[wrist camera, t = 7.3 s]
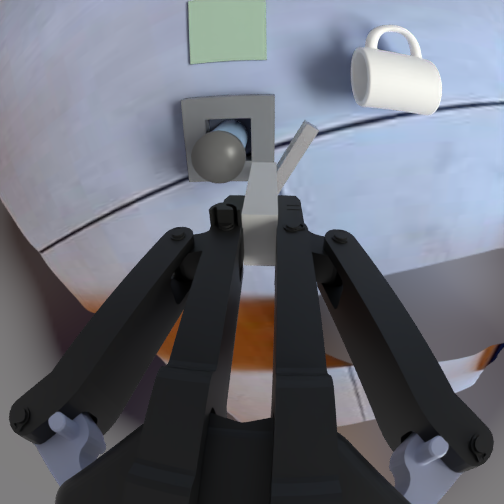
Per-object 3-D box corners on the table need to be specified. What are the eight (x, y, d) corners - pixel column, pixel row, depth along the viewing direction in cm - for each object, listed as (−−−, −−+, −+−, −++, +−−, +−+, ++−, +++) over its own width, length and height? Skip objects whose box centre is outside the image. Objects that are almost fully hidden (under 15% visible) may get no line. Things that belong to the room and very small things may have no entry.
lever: (265, 219, 30) (264, 229, 29) (242, 208, 29) (240, 217, 28) (322, 130, 24) (326, 135, 22) (297, 115, 23) (299, 119, 21)
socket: (186, 98, 33) (152, 111, 23) (274, 94, 32) (275, 104, 23) (193, 175, 40) (168, 214, 31) (273, 175, 39) (273, 215, 30)
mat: (189, 1, 24) (188, 1, 23) (265, -5, 23) (265, -6, 23) (191, 64, 30) (190, 64, 30) (266, 59, 29) (266, 59, 29)
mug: (413, 109, 31) (440, 121, 24) (350, 102, 32) (369, 111, 26) (412, 35, 24) (441, 31, 17) (347, 23, 25) (365, 12, 18)
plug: (209, 117, 35) (188, 134, 26) (251, 115, 34) (244, 131, 26) (212, 155, 38) (194, 183, 30) (252, 154, 38) (245, 183, 29)
